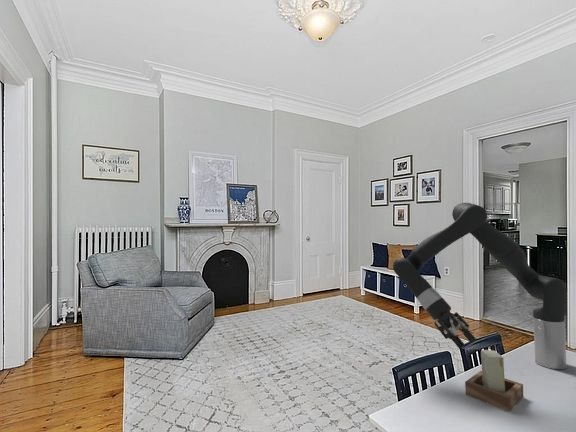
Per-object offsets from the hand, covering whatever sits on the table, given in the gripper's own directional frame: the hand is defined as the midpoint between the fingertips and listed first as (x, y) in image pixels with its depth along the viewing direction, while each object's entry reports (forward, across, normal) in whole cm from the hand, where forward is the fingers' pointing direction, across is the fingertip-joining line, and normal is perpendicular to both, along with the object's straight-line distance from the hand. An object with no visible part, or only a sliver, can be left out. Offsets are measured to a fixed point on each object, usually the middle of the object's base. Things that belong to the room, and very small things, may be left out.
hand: (468, 344), depth 104 cm
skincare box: (+14, 0, +5) cm, 15 cm away
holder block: (+15, 0, +5) cm, 16 cm away
